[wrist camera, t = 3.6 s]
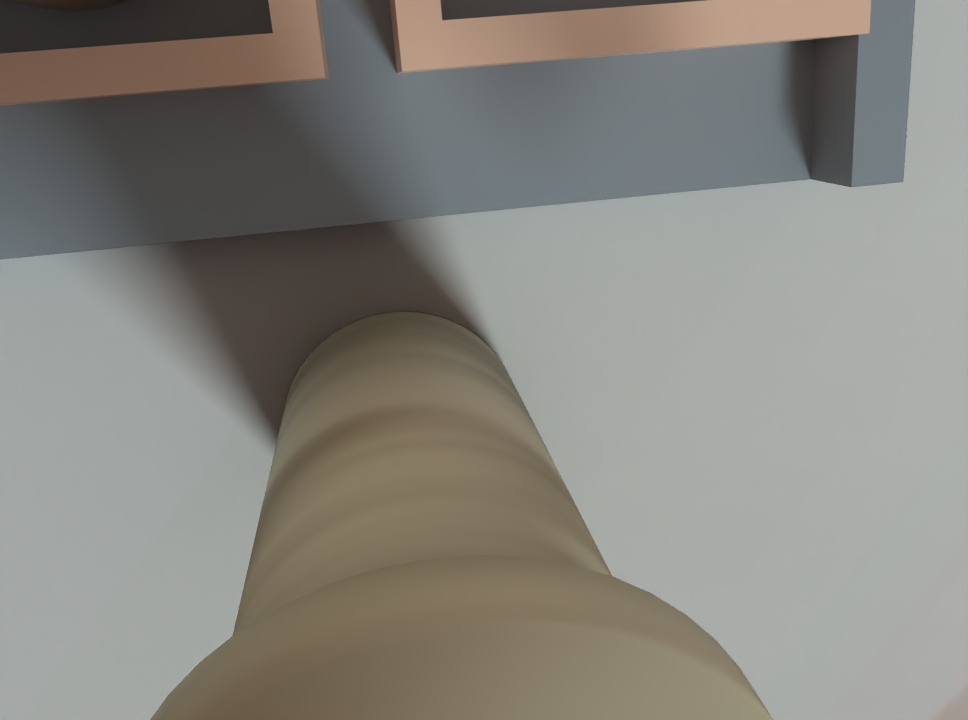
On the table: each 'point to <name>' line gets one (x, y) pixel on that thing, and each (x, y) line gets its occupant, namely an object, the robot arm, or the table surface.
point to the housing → (424, 108)
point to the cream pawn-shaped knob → (438, 562)
